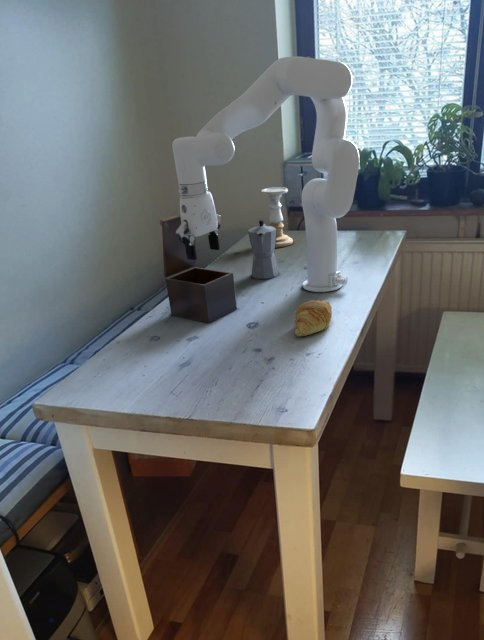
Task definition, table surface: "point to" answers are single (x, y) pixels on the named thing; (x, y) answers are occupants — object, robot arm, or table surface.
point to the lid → (174, 248)
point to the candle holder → (277, 215)
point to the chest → (201, 294)
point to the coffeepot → (263, 251)
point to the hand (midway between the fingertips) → (203, 254)
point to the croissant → (312, 317)
